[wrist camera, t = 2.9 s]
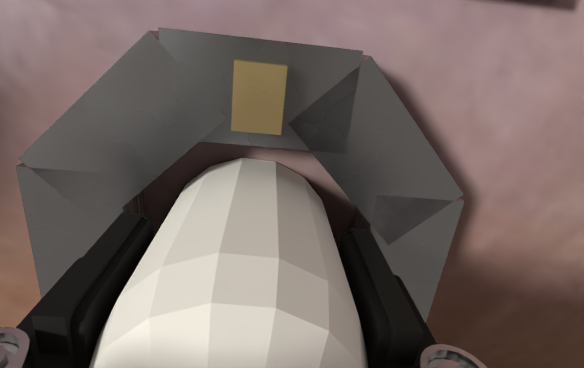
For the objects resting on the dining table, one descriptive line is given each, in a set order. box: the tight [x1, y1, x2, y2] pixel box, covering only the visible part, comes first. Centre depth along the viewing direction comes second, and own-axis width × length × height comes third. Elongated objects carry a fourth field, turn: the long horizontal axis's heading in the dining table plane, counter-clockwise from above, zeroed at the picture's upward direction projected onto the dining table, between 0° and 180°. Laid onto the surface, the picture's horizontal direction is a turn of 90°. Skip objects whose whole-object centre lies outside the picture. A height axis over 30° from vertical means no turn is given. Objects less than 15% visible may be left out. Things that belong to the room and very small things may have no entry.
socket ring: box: [16, 27, 465, 323], centre depth 11 cm, size 12×12×2 cm
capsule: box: [89, 158, 368, 368], centre depth 8 cm, size 5×5×8 cm
